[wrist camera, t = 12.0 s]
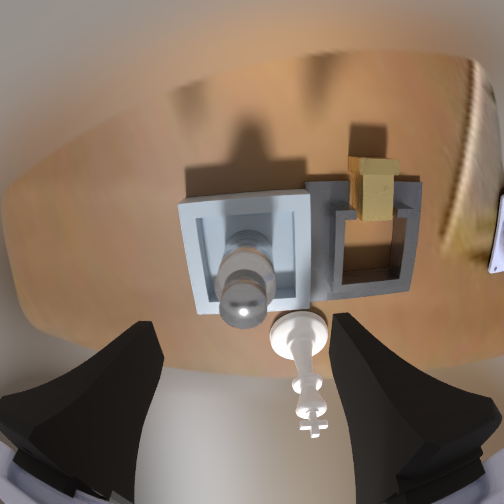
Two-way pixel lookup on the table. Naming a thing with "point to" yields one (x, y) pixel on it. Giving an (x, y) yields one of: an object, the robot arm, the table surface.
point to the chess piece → (303, 362)
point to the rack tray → (249, 218)
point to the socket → (332, 242)
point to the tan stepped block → (373, 186)
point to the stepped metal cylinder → (245, 279)
